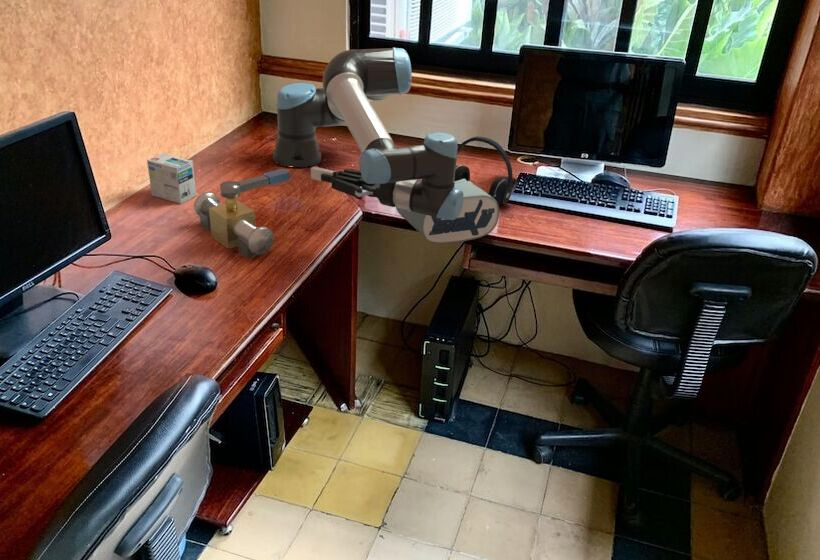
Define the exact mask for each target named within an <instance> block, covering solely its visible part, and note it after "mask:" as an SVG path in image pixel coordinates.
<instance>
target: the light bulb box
mask: <svg viewBox="0 0 820 560" xmlns="http://www.w3.org/2000/svg"><path fill="white" fill-rule="evenodd" d="M193 161H194V160H191V159H187V158H182V157H179V156H174V155H171V154H166V153H164V152H163V153H161V154H158V155H156V156H152V157H151V158H148V159H147V160H146V162H147V163H146V165H147V171H148V178H149V184H150V186H149V187H150V191H151V192H150V193H151V194H150V195H151V196H152V197H157V198H160V199H162V200H167V201H171V202H174V203H178V204H181V205H182V204H184V203H185V202H187V201H189V200H190V199H193V198H195V197H197V190H196V183H195V181H196V180H195V171H194V162H193Z"/></svg>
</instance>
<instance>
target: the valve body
mask: <svg viewBox="0 0 820 560" xmlns="http://www.w3.org/2000/svg"><path fill="white" fill-rule="evenodd" d="M196 197H197V198H195V201H194V202H193V203H194V204H193V209H194V212H195V214H196V215H197V216H199V222H200V223H199V224H200V226H201V227H202V228H203V229H205V230H206V231H207V232H210V236H211V238H212V239H214V240H215V241H216V242H218V243H220V244H221V245H222V246H224V247H225V248H226V249H228V250H229V249H232V248H235V247H238V254H240V255H242V256H243V257H245V258H246V259H250V258H253V257H256V256H259V255H264V254H265V253H267V251H268V252H269V250H270V249H271V248H272V246H273V244H274V242H275V241H274V240H275V236H274V233H273V231H272V230H271V229H270V228H268V227H267V226H256V213H255V212H256V211H255V210H254V209H252V208H250V207H249V206H247V205H246V204H244V203H242V202H241V201H239V200H238V199H237V198H238V197H235V198H225V203H221V202H220V199H219V197H218V196H217V195H216V194H214V193H212V192H210V191H207V192H206V191H205V192H203V193H200V194H199V195H198V196H196Z"/></svg>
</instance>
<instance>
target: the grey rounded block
mask: <svg viewBox="0 0 820 560" xmlns="http://www.w3.org/2000/svg"><path fill="white" fill-rule="evenodd" d="M454 183H455V186H454V187H455V188H457V189H460V190H462V191H463V197H464V201H463V207H462V210H461V212H460V214H459V216H458V217H457V218H456V219H454V220H446V219H441V218H436V217H433V216H429V215H425V214H421V213H417V212H413V211H410V212H408V211H407V210H404V209H400V208H397V207H396V206H395V210H396V211H397V213H398V214H399V215H400V217H402V218H403V219H405V220H406V221H407V222H408V224H410V226H412V227H413V228H414V229H415V230H416V231H417V232H418V233H420V235H421V236H423V238H425V240H426V241H428V242H430V243H433V244H438V245H440V244H441V245H442V244H444V245H445V244H454V243H462V242H467V241H473V240H477V239H480V238H483V237H485V236H488V235H489V234H490V233H492V232H493V230H494V229H495V228H496V226H497V224H498V221H499V218H500V208H499V207H500V206H499V205H498V203H497V201H496V200H495V199H494V198H493V197H491V196H490V195H489V193H487V192H486V191H485V190H483V189H482V188H481V187H478V186H477V185H475V184H474V183H473V182H472V181H471V180H470V181H467V180H466V179H461V180H458V181H455V182H454Z"/></svg>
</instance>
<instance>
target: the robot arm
mask: <svg viewBox="0 0 820 560" xmlns="http://www.w3.org/2000/svg"><path fill="white" fill-rule="evenodd" d="M412 75H413V74H412V64H411V59H410V56H409V54H408V52H407V50H405V49H404V48H401V47H400V48H399V47H392V48H391V47H389V48H366V49H364V48H363V49H347V50H344V51H342V52H338V54H336V55H335V56H334V57H332V59H330V60H329V62H328V63H327V65H326V67H325V69H324V72H323V76H322V87H320V88H316V87H315V85H314V84H312V83H309V82H305V83H304V82H296V83H295V82H294V83H291V84H287V85H285V86H282V87H281V88H279V90H278V91H277V94H276V95H277V96H276V114H277V139H276V142H275V145H274V149H273V150H272V151H273V153H272V160H273V162H274V161H275V162H277V163H279V164H282V165H285V166H293V167H305V168H308V167H307V166H311V167H310V179H311V180H316V181H320V182H325V183H329V184H331V189H333V190H336V191H338V192H341V193H343V194H346V195H350V196H351V197H354V198H355V199H357V200H360V201H361V200H363V197H364V196H367V197H369V198H377V200H378V202H379V203H380V204H381V205H383V206H386V207H390V208H391V207H392V208H396V207H397V208H400V209H404V210H407V211H408V212H410V211H413V212H417V213H421V214H425V215H429V216H433V217H436V218H441V219H446V220H454V219H456V218H457V217H458V216H459V214H460V212H461V210H462V207H463V201H464V197H463V191H462V190H460V189H457V188H455V187H454V186H455V183H454V177H455V170H456V166H457V161H458V155H457V148H458V147H459V146H458V140H457V138H456V137H455V136H453V135H452V134H450V133H447V132H432V133H428V134H426V135H425V137H424V141H423V144H417V145H407V146H405V145H404V146H397V145H396V143H395V142H394V141H393V139H392V137H391V135H390V134H389V132H388V130H387V129H386V127H385V125H384V123H383V122H382V119H381V118H380V117H379V115H378V113H377V112H376V110H375V108H374V106H373V105H372V103H371V102H372V101H375V102H376V101H382V100H385V99H387V98H388V97H390V96H393V95H400V96H401V95H403V94H407V93H409V92H410V90H411V86H412V77H413V76H412ZM334 126H335V127H336V126H347V128H348V130H349V132H350V133H351V136H352V138H353V139H354V141H355V143H356V144H357V147H358V148H359V150H360V152H361V153H360V155H359V158H358V159H359V160H358V164H359V166H358V167H359V170H355V169H348V168H347V169H346V168H345V169H343V170H339V171H336V170H333V169H332V170H331V169H327V168H323V167H318V166H316V165H318V164H319V163H321V162H322V152H321V149H320V146H319V143H318V140H317V137H316V128H322V127H334ZM275 162H274V163H275ZM277 163H276V164H277Z"/></svg>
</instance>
